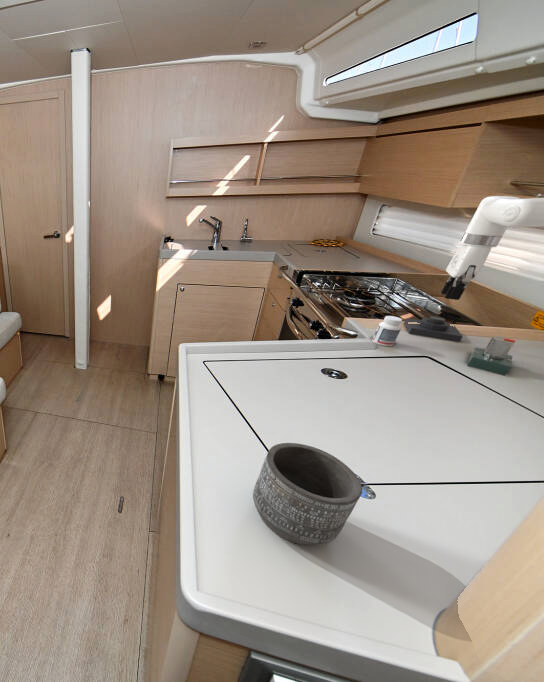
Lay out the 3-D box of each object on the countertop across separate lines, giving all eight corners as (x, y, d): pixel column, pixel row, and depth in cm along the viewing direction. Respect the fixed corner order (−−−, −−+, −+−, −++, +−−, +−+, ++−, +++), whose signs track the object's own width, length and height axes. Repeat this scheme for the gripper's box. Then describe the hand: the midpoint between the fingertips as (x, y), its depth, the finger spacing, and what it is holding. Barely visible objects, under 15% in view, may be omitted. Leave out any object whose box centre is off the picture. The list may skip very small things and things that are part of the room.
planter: (258, 547, 57) (281, 493, 51) (240, 487, 68) (257, 436, 62) (346, 566, 54) (381, 511, 48) (313, 500, 65) (339, 448, 59)
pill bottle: (397, 346, 114) (410, 321, 109) (381, 346, 114) (393, 321, 110) (382, 338, 118) (394, 314, 114) (367, 339, 118) (378, 315, 114)
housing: (451, 331, 122) (457, 320, 120) (459, 342, 114) (465, 331, 113) (403, 323, 128) (408, 313, 126) (408, 333, 121) (413, 323, 119)
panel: (467, 355, 107) (473, 345, 106) (509, 365, 102) (516, 356, 100) (463, 365, 103) (469, 355, 101) (508, 376, 97) (514, 366, 95)
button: (441, 322, 120) (443, 317, 119) (443, 326, 117) (446, 321, 117) (426, 320, 122) (428, 315, 121) (428, 323, 119) (431, 318, 118)
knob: (481, 355, 101) (492, 338, 98) (482, 351, 103) (494, 333, 101) (503, 361, 98) (515, 342, 96) (504, 356, 100) (516, 338, 98)
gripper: (454, 234, 115) (427, 287, 123) (470, 244, 103) (439, 302, 111) (489, 236, 111) (458, 291, 119) (509, 246, 99) (474, 307, 107)
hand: (449, 296), depth 115 cm, fingers open, 4 cm apart
